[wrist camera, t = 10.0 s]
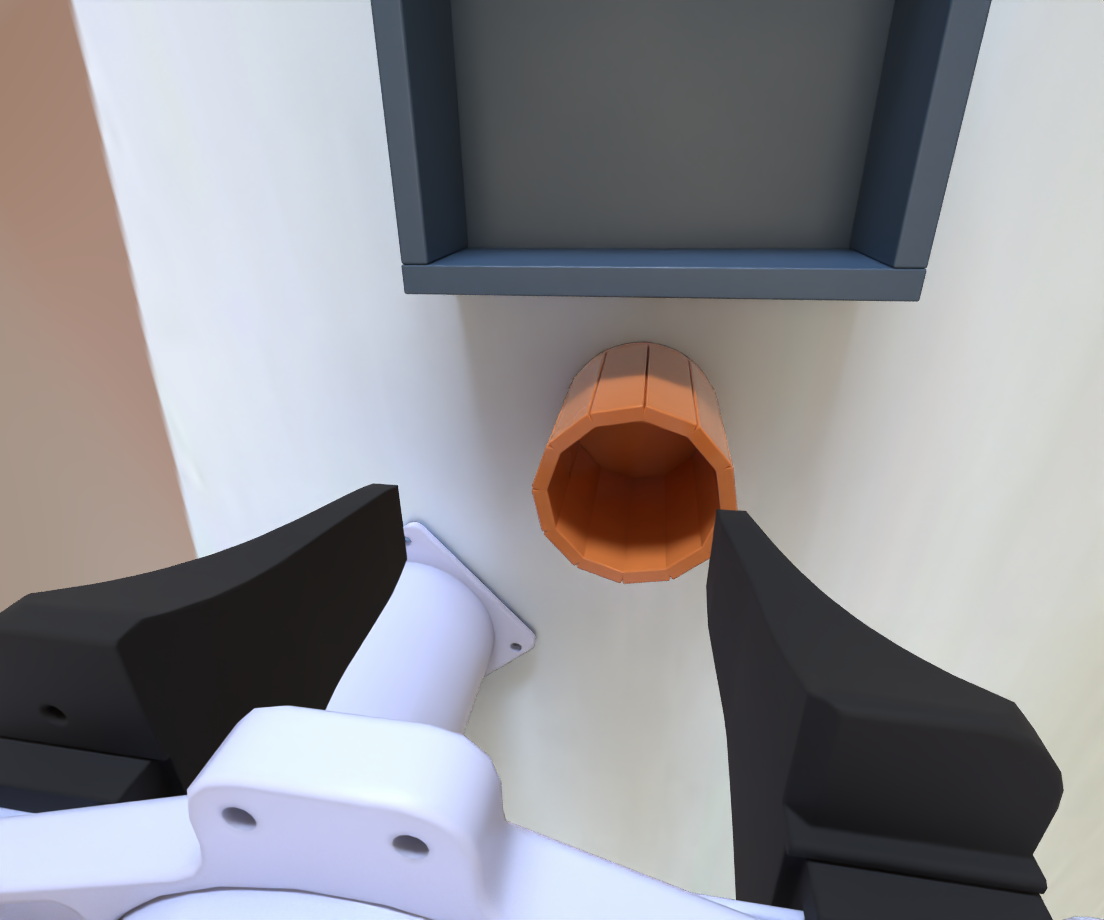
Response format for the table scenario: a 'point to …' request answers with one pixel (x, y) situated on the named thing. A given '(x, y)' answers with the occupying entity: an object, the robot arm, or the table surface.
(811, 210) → the dark grey storage bin
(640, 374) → the cup
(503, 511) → the table surface
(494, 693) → the table surface
